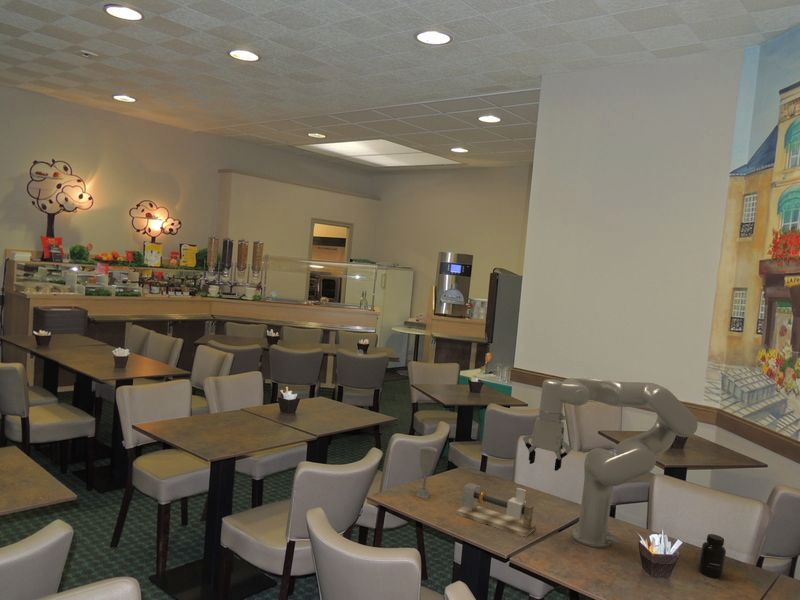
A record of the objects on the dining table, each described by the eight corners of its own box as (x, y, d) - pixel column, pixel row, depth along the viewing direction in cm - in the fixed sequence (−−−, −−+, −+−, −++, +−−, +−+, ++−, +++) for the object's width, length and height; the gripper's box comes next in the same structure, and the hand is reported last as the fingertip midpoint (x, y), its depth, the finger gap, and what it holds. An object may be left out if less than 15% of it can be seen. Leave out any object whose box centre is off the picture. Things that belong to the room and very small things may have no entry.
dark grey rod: (526, 513, 220) (527, 507, 220) (524, 514, 218) (525, 509, 218) (471, 495, 231) (472, 490, 231) (469, 497, 229) (470, 491, 229)
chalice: (415, 490, 247) (420, 445, 246) (432, 493, 246) (437, 448, 245) (413, 497, 240) (418, 450, 239) (430, 500, 239) (436, 453, 238)
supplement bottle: (711, 579, 197) (716, 542, 197) (693, 569, 204) (698, 533, 203) (727, 577, 200) (732, 540, 199) (709, 567, 206) (714, 531, 206)
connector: (484, 510, 230) (487, 487, 229) (478, 514, 226) (481, 491, 225) (467, 505, 234) (470, 482, 233) (461, 508, 229) (464, 485, 229)
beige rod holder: (535, 528, 222) (538, 503, 222) (525, 537, 214) (528, 511, 213) (468, 506, 236) (471, 483, 235) (456, 514, 227) (459, 489, 227)
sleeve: (524, 515, 222) (528, 488, 221) (519, 519, 218) (522, 492, 217) (511, 510, 224) (514, 484, 224) (506, 514, 220) (509, 488, 220)
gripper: (578, 420, 213) (572, 470, 214) (529, 409, 223) (524, 457, 224) (572, 423, 207) (565, 475, 208) (521, 412, 216) (516, 462, 217)
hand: (544, 466), depth 216 cm, fingers open, 8 cm apart
